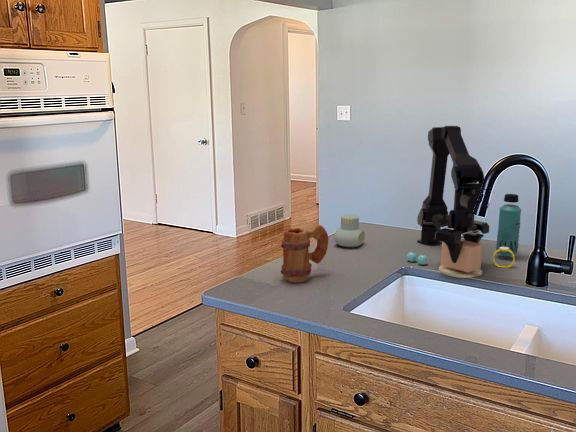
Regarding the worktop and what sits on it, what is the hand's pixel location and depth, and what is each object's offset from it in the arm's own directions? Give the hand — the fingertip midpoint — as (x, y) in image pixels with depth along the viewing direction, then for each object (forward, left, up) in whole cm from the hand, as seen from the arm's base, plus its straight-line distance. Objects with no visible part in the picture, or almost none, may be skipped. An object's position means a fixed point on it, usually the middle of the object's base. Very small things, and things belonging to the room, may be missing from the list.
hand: (460, 260), depth 166 cm
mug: (+38, -25, -4) cm, 46 cm away
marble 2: (+3, -11, -3) cm, 12 cm away
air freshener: (+4, -40, -4) cm, 40 cm away
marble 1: (+3, -15, -3) cm, 16 cm away
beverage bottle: (-22, +2, -4) cm, 22 cm away
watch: (-13, +6, -4) cm, 15 cm away
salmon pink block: (0, 0, -2) cm, 2 cm away
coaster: (0, 0, -3) cm, 3 cm away
